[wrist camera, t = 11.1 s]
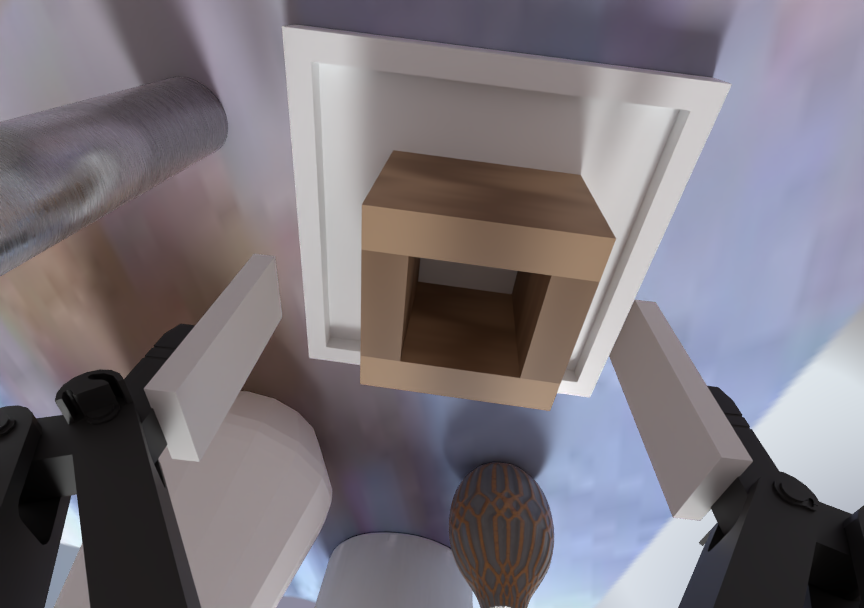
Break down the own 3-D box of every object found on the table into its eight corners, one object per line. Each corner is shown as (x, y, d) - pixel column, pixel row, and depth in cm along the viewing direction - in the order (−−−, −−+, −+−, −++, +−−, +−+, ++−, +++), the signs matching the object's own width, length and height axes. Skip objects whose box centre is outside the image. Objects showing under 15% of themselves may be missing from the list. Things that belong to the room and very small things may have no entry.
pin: (164, 149, 20) (-415, 427, 7) (145, 72, 18) (-684, 256, 5) (233, 158, 20) (-224, 456, 7) (221, 82, 18) (-429, 293, 5)
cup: (377, 420, 30) (312, 680, 18) (311, 507, 37) (236, 733, 26) (181, 336, 27) (-38, 582, 16) (152, 448, 34) (-12, 672, 23)
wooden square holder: (385, 302, 23) (360, 383, 18) (393, 150, 19) (361, 204, 14) (535, 323, 23) (549, 410, 18) (580, 174, 18) (616, 238, 14)
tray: (317, 340, 26) (309, 357, 25) (296, 24, 17) (282, 26, 16) (584, 378, 26) (589, 397, 25) (713, 77, 17) (732, 83, 15)
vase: (567, 474, 31) (592, 616, 24) (508, 514, 35) (514, 648, 28) (487, 435, 30) (489, 574, 22) (434, 482, 33) (421, 614, 26)
